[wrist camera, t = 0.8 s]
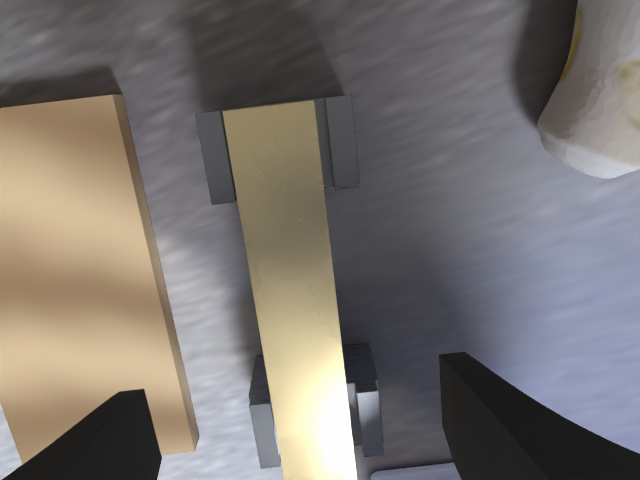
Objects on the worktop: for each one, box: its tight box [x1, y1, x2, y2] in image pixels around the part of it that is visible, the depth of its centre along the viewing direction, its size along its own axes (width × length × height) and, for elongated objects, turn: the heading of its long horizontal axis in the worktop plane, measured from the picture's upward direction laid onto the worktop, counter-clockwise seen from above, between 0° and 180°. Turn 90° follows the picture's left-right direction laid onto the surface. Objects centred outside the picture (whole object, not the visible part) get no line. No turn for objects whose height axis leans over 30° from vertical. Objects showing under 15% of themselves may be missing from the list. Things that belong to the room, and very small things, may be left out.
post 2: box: [249, 343, 384, 469], centre depth 21 cm, size 3×5×4 cm, turn 97°
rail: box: [222, 100, 357, 480], centre depth 17 cm, size 14×3×3 cm, turn 7°
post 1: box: [195, 95, 360, 205], centre depth 18 cm, size 3×5×4 cm, turn 97°
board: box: [0, 95, 199, 464], centre depth 21 cm, size 16×8×1 cm, turn 7°
